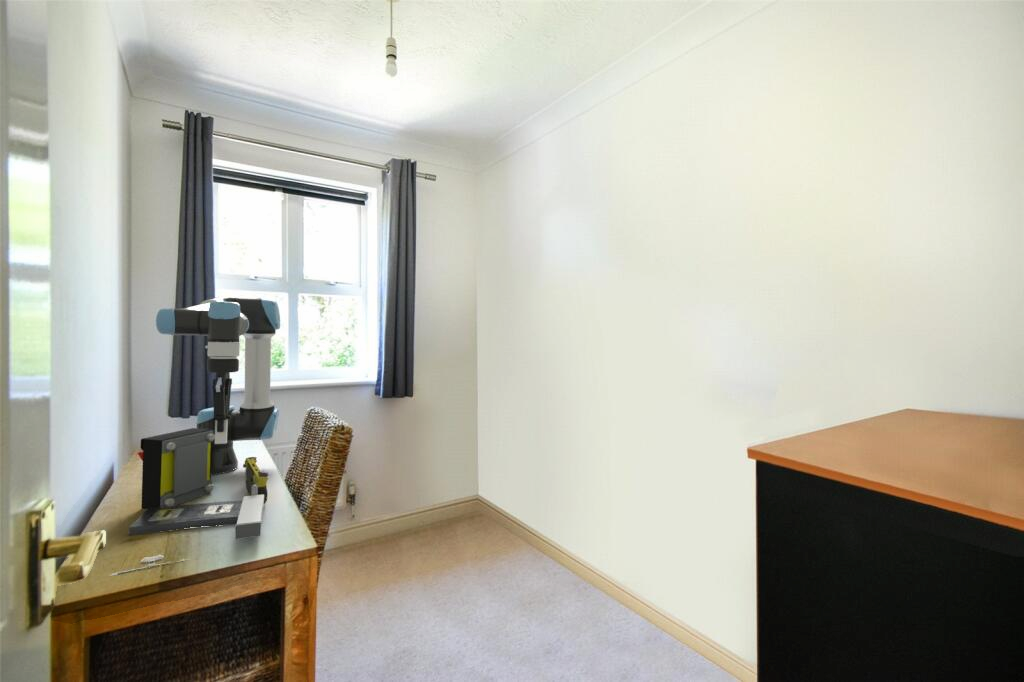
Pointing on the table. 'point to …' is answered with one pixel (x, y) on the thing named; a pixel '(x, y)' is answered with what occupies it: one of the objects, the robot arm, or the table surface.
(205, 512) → the label board
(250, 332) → the robot arm
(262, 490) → the gaming console
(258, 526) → the light grey rectangular bar
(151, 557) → the picture light
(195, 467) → the electrical component
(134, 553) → the table surface
